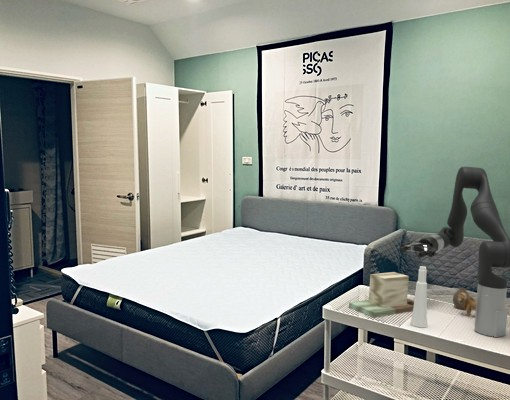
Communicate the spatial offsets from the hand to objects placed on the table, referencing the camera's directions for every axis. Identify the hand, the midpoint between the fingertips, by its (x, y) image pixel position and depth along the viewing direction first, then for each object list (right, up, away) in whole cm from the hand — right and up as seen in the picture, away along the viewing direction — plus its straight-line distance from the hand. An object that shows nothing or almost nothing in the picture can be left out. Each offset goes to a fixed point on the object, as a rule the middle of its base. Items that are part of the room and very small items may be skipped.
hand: (409, 252), depth 186 cm
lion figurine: (+23, -25, -8) cm, 35 cm away
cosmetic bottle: (-4, -25, -21) cm, 33 cm away
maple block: (-10, -21, -1) cm, 23 cm away
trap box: (-10, -23, -1) cm, 25 cm away
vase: (+24, -25, +5) cm, 35 cm away
